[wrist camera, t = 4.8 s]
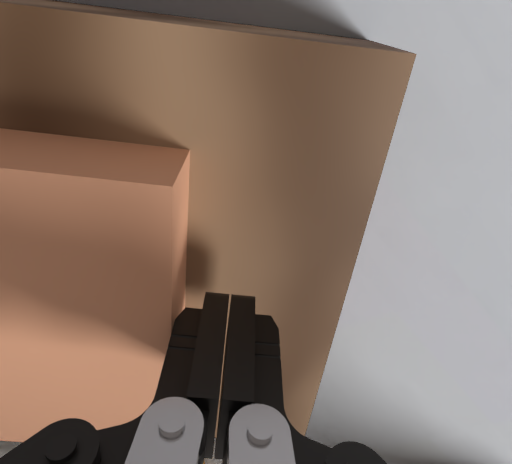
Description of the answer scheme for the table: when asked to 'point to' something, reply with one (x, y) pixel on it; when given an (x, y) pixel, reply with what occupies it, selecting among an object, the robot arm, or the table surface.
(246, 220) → the walnut platform
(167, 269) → the terracotta tile
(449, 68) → the table surface
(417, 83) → the table surface
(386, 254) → the table surface
